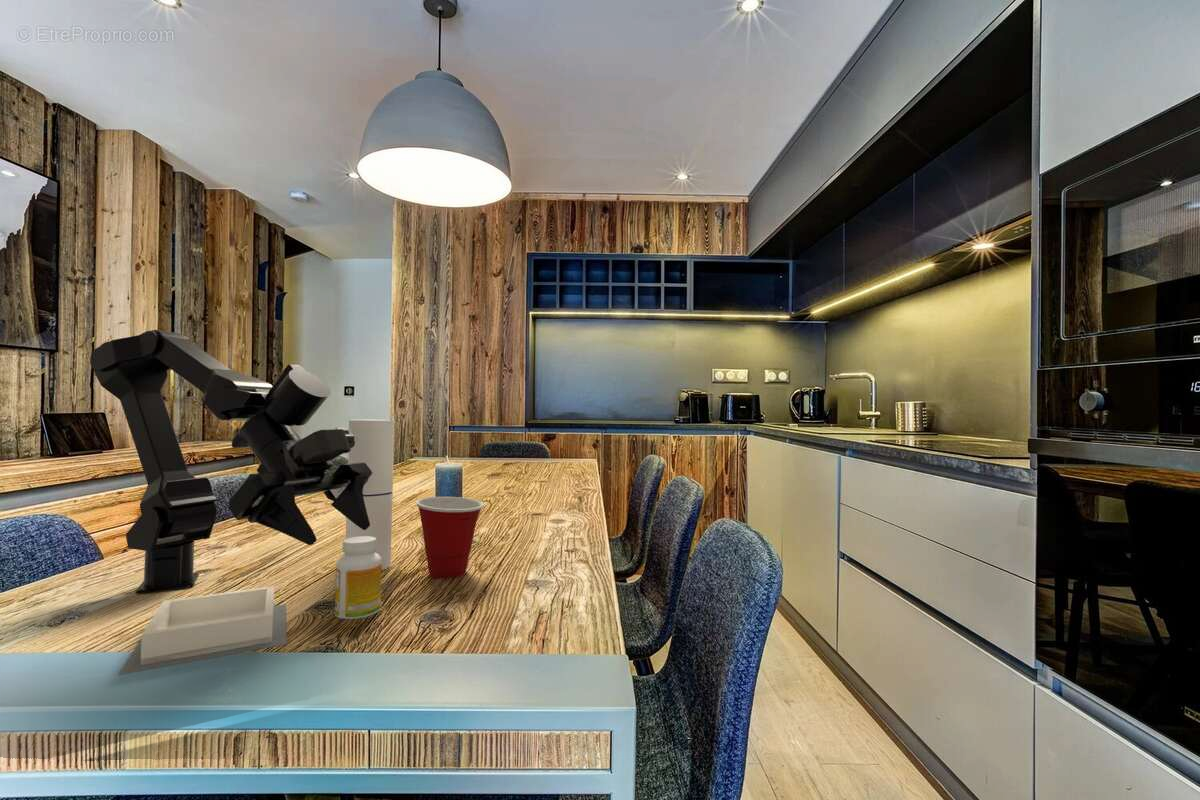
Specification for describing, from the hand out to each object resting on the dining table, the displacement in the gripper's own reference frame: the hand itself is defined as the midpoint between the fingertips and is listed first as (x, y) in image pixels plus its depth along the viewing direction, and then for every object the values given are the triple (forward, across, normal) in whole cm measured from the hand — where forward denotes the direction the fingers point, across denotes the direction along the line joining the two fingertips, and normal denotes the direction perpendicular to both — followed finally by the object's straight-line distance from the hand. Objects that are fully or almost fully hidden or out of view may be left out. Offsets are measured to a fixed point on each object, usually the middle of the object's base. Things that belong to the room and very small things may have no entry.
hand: (342, 534), depth 69 cm
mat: (+2, -11, +12) cm, 17 cm away
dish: (+2, -11, +12) cm, 16 cm away
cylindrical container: (-1, +18, +15) cm, 23 cm away
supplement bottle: (+9, 0, +5) cm, 11 cm away
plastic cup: (+10, +19, +5) cm, 22 cm away
